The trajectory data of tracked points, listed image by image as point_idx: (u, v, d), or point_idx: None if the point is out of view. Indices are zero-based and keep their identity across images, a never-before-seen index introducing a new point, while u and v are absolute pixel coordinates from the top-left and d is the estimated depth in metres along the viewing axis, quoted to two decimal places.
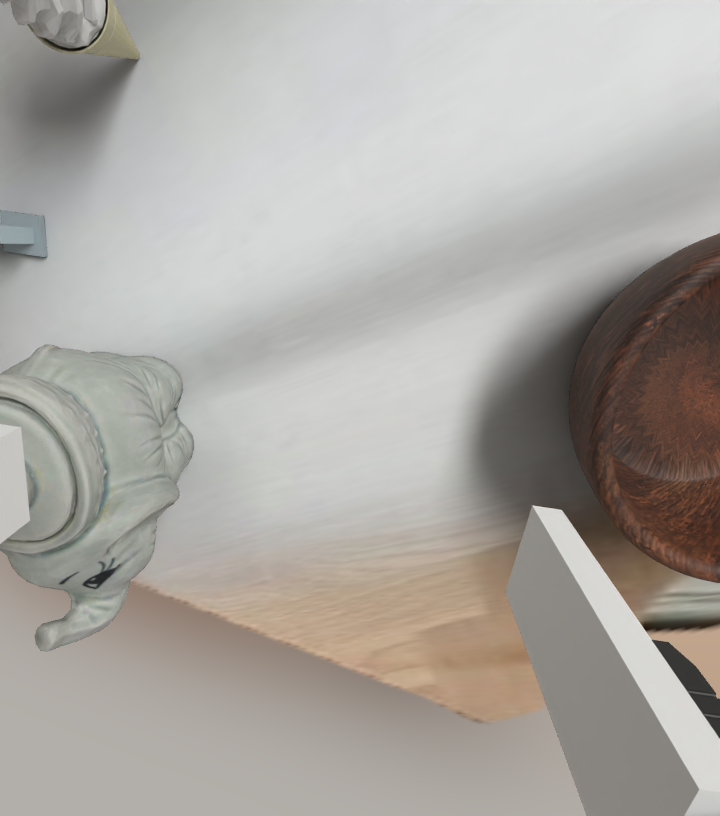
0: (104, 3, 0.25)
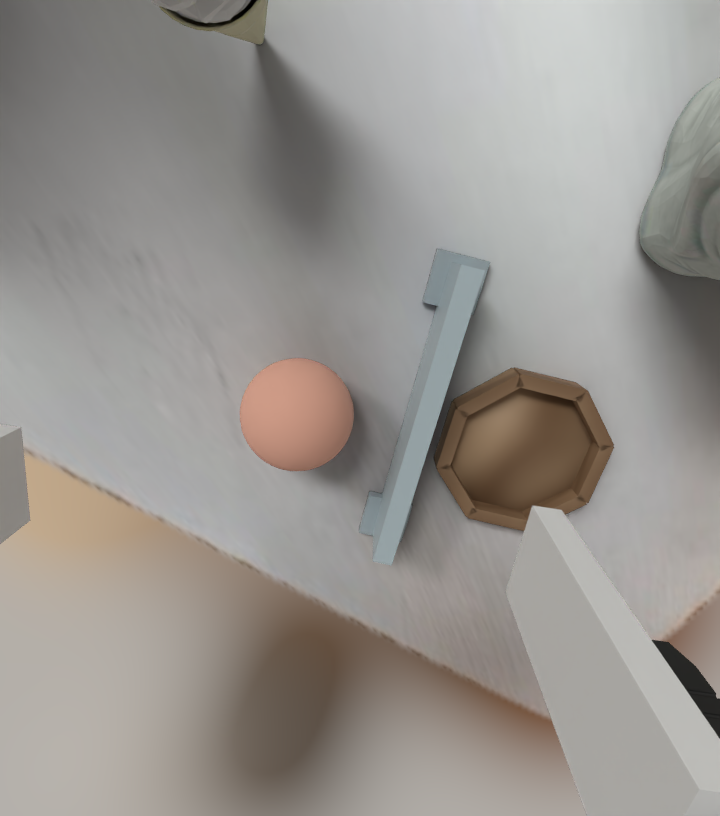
0: None
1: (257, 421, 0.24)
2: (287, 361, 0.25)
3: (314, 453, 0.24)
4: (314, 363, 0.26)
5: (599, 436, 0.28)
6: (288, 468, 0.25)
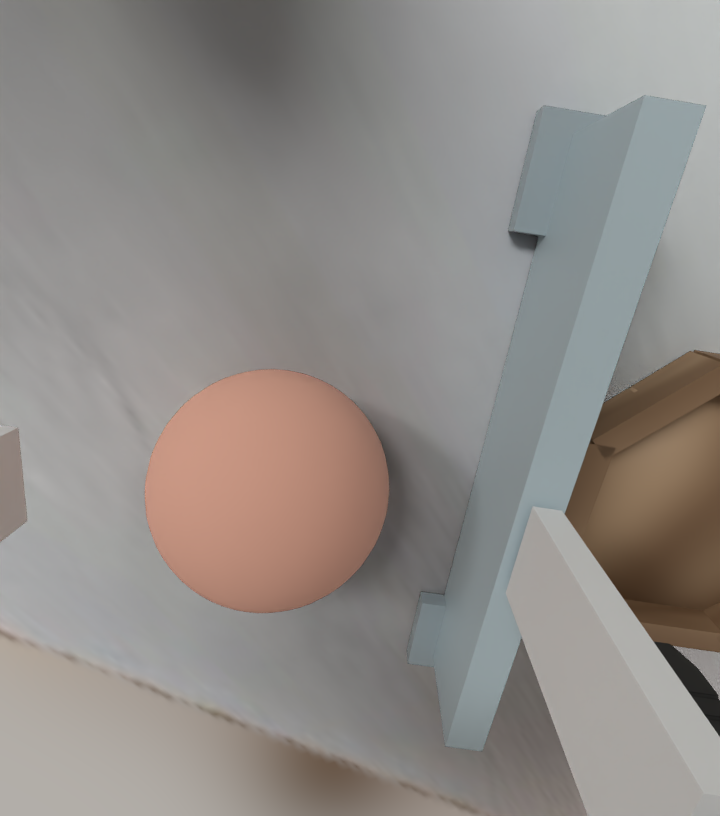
0: None
1: (170, 527, 0.10)
2: (236, 379, 0.12)
3: (309, 585, 0.11)
4: (296, 378, 0.12)
5: None
6: (258, 612, 0.12)
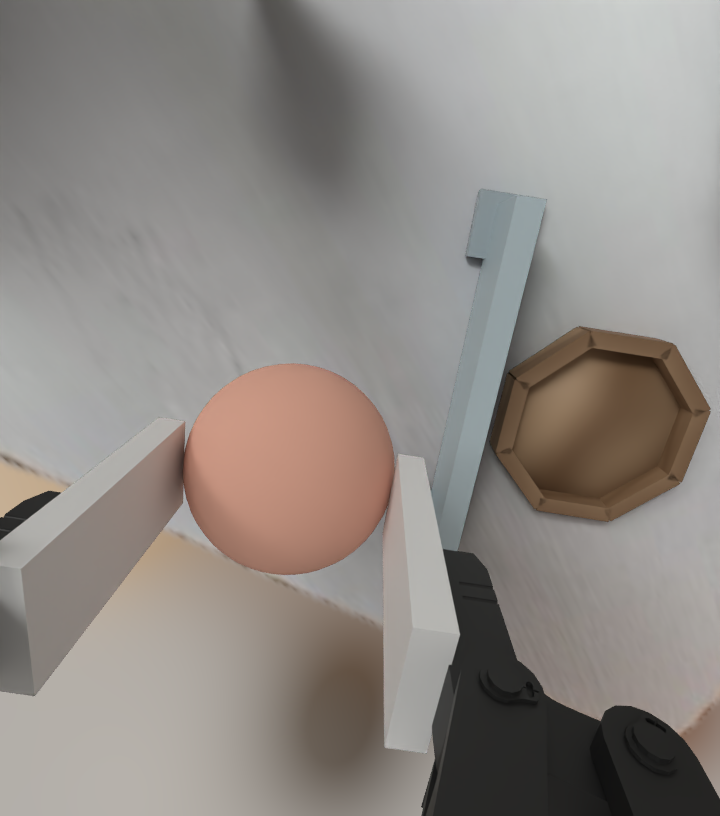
0: None
1: (211, 496, 0.12)
2: (263, 371, 0.13)
3: (329, 546, 0.12)
4: (314, 370, 0.14)
5: (691, 399, 0.23)
6: (282, 574, 0.13)
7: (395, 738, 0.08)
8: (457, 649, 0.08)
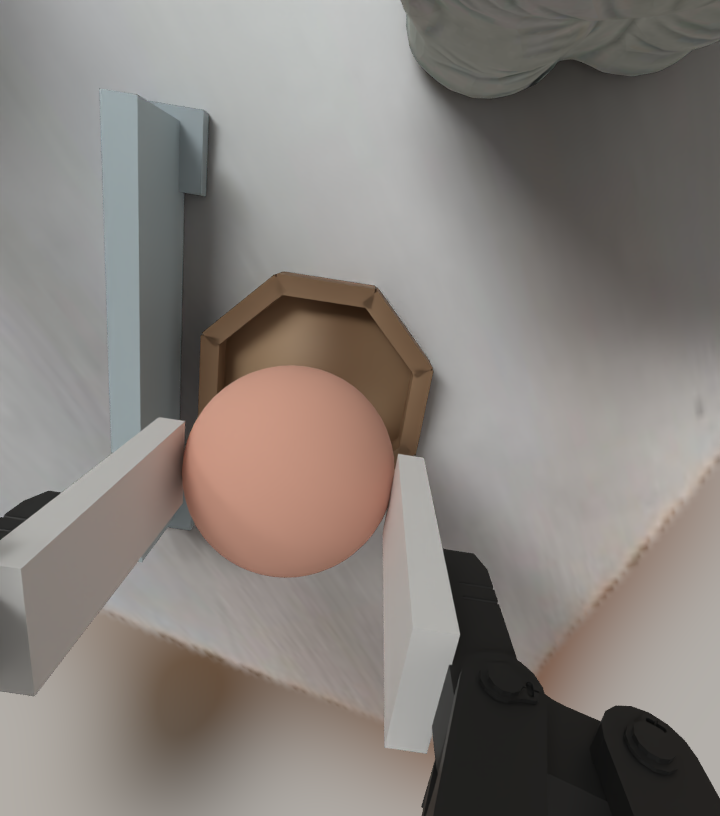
0: None
1: (210, 499, 0.12)
2: (262, 373, 0.13)
3: (329, 549, 0.12)
4: (314, 372, 0.14)
5: (408, 357, 0.20)
6: (282, 576, 0.13)
7: (395, 739, 0.08)
8: (457, 649, 0.08)
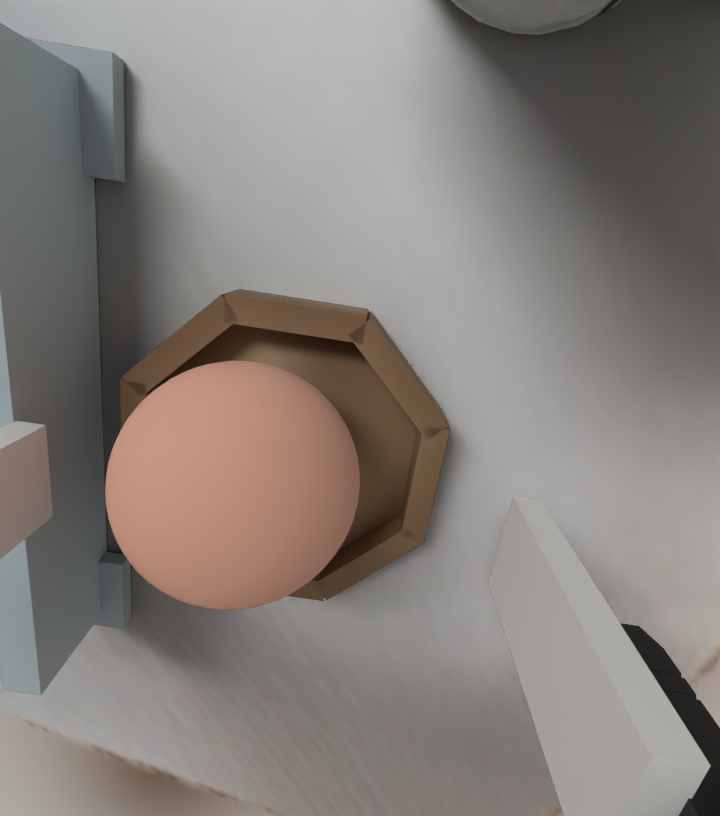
0: None
1: (112, 483, 0.10)
2: (214, 363, 0.12)
3: (233, 567, 0.10)
4: (269, 366, 0.12)
5: (414, 410, 0.14)
6: (191, 602, 0.11)
7: None
8: None
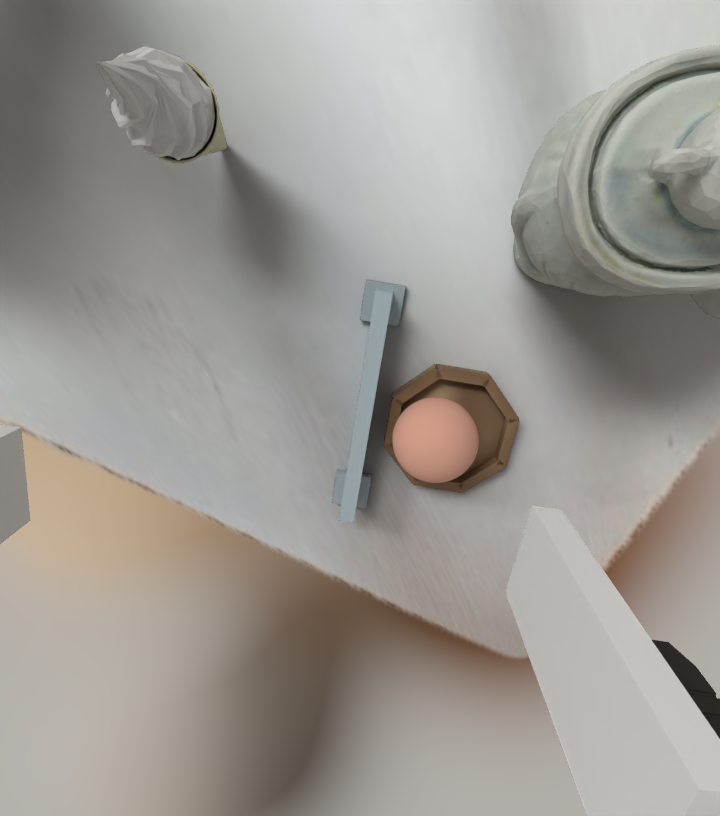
0: None
1: (400, 436, 0.34)
2: (431, 398, 0.35)
3: (436, 466, 0.33)
4: (451, 402, 0.34)
5: (505, 411, 0.36)
6: (418, 476, 0.34)
7: None
8: None
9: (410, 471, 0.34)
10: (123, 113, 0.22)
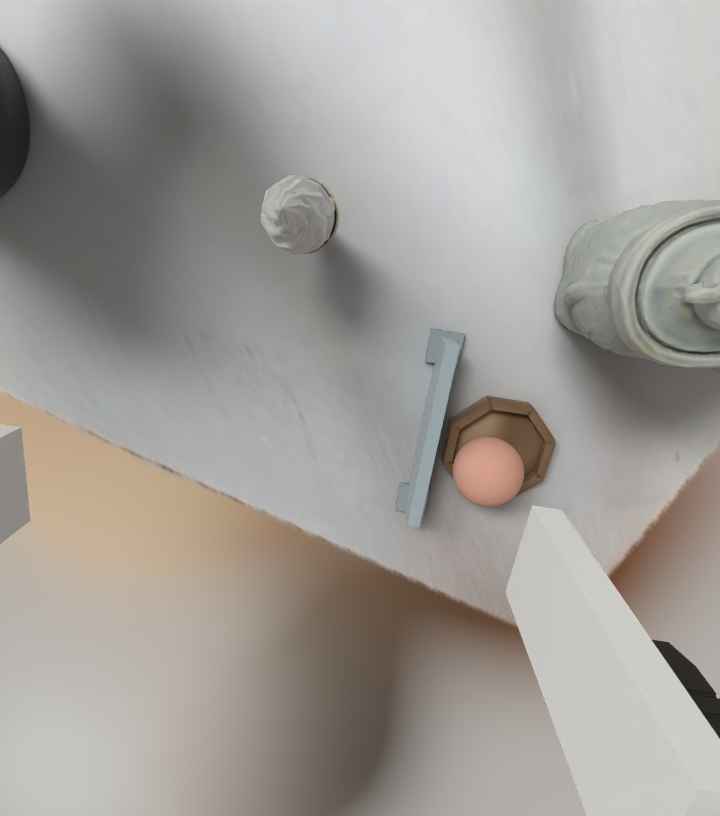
0: None
1: (462, 477, 0.42)
2: (488, 444, 0.42)
3: (491, 503, 0.42)
4: (505, 449, 0.41)
5: (544, 435, 0.44)
6: None
7: None
8: None
9: (468, 499, 0.43)
10: (282, 232, 0.29)
